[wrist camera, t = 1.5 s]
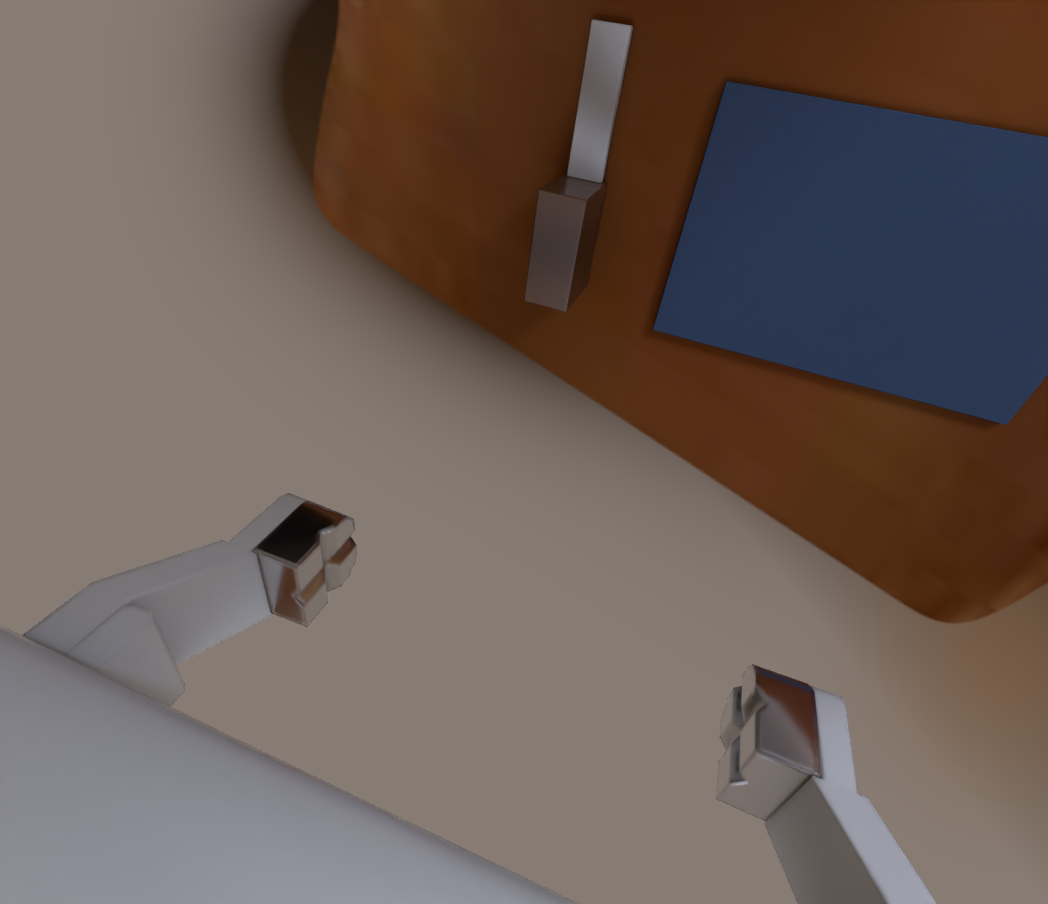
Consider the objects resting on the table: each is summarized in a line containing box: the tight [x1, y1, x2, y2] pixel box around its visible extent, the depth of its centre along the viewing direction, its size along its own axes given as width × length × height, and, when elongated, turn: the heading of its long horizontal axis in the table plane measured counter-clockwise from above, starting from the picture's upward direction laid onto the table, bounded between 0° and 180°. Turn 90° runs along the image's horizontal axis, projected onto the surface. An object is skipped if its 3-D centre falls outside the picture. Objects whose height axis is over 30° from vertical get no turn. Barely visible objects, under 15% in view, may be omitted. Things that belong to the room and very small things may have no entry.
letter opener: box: [524, 19, 633, 312], centre depth 29 cm, size 13×3×5 cm, turn 173°
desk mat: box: [653, 81, 1048, 425], centre depth 29 cm, size 13×20×1 cm, turn 83°
